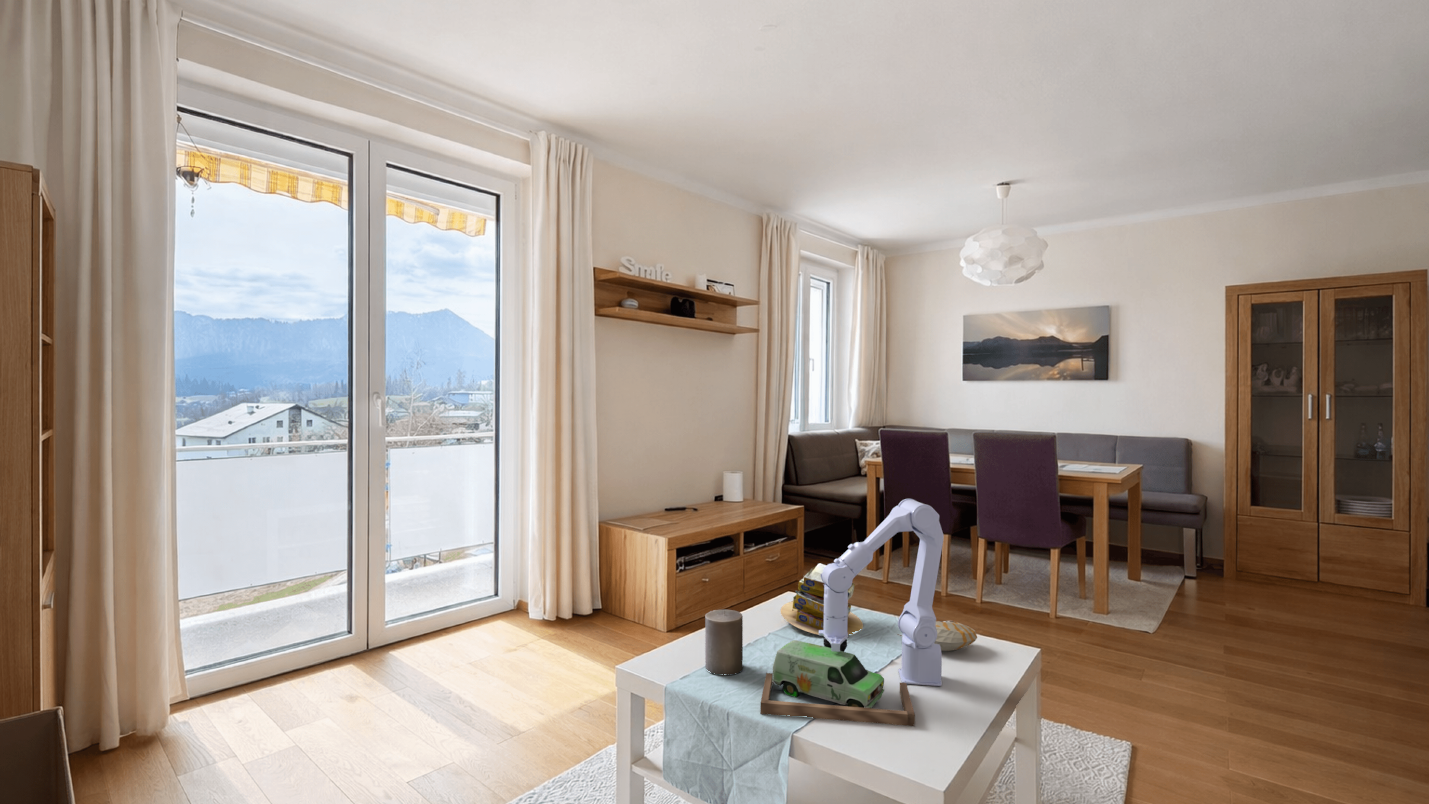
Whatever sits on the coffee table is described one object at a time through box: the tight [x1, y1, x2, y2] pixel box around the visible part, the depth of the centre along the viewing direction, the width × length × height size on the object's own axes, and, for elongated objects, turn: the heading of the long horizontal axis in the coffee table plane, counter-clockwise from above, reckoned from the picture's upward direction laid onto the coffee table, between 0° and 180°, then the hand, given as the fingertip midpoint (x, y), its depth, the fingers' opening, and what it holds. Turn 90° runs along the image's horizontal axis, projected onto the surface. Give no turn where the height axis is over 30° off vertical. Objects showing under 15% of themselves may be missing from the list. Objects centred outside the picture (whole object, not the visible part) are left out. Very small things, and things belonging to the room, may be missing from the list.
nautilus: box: [896, 620, 978, 652], centre depth 195 cm, size 8×22×15 cm
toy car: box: [772, 639, 885, 708], centre depth 163 cm, size 11×25×10 cm, turn 55°
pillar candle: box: [704, 609, 744, 676], centre depth 179 cm, size 10×10×15 cm
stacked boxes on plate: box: [780, 563, 864, 636], centre depth 212 cm, size 25×25×17 cm
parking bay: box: [759, 672, 916, 727], centre depth 160 cm, size 33×16×2 cm, turn 81°
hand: (834, 669), depth 170 cm, fingers closed
